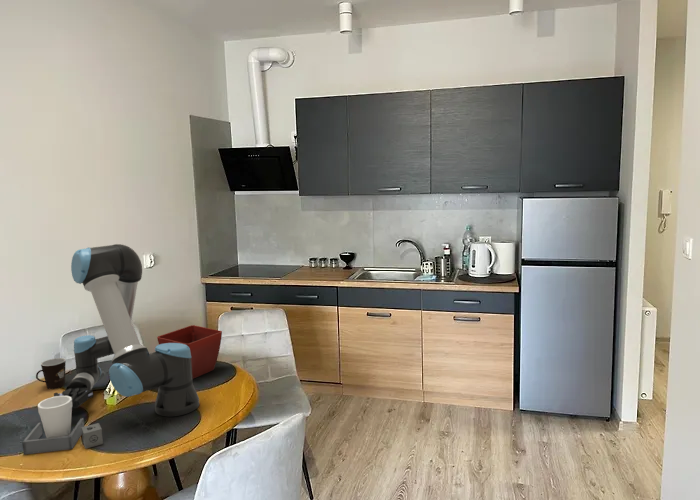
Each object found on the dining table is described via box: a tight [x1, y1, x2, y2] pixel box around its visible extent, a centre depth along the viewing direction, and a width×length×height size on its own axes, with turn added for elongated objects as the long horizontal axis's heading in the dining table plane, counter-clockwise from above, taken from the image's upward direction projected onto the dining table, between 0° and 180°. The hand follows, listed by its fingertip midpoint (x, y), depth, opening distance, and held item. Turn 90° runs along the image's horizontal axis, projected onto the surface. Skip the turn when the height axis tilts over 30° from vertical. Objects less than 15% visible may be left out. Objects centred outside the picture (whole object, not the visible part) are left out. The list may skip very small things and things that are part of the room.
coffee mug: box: [35, 357, 66, 390], centre depth 211 cm, size 12×9×10 cm
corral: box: [21, 417, 85, 455], centre depth 167 cm, size 14×13×4 cm
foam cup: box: [37, 396, 73, 438], centre depth 167 cm, size 10×9×13 cm
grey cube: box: [81, 422, 104, 450], centre depth 166 cm, size 5×5×5 cm
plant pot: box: [156, 324, 223, 380], centre depth 222 cm, size 19×19×17 cm
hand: (57, 415), depth 171 cm, fingers closed
